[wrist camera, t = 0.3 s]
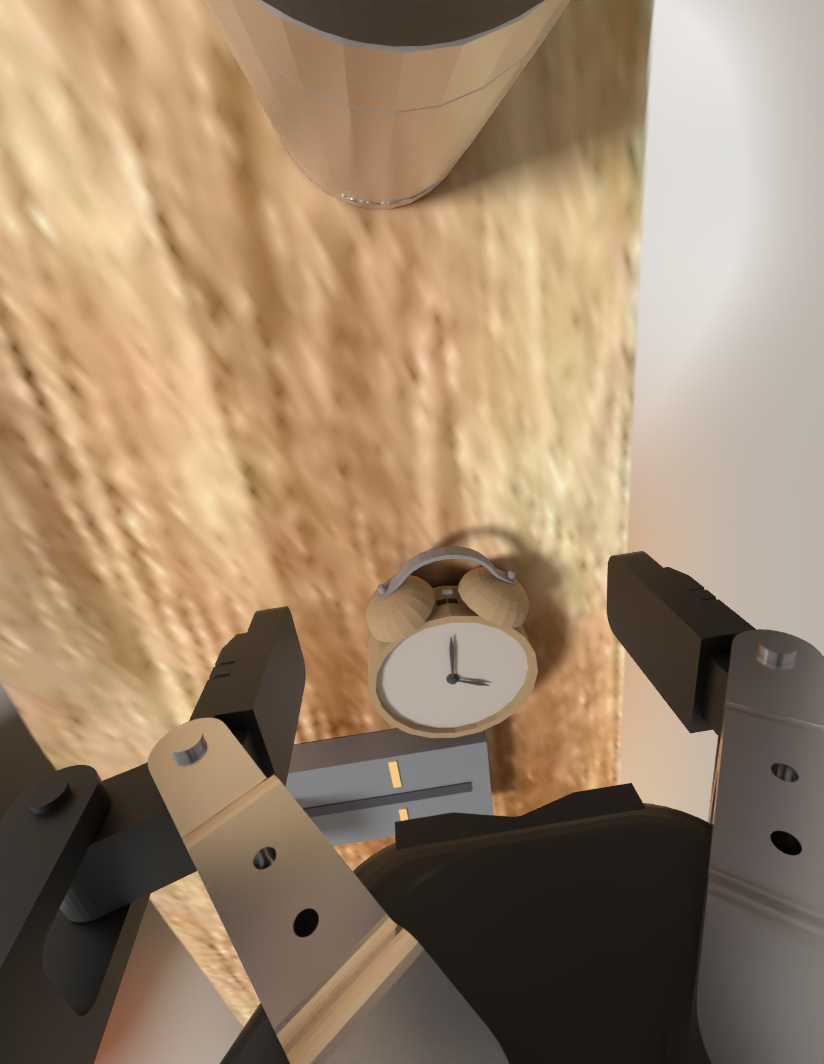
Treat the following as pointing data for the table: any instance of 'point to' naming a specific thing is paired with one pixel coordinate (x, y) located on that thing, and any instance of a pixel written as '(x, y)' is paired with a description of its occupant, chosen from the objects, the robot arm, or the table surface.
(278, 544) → the table surface
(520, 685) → the alarm clock
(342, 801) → the fader console
